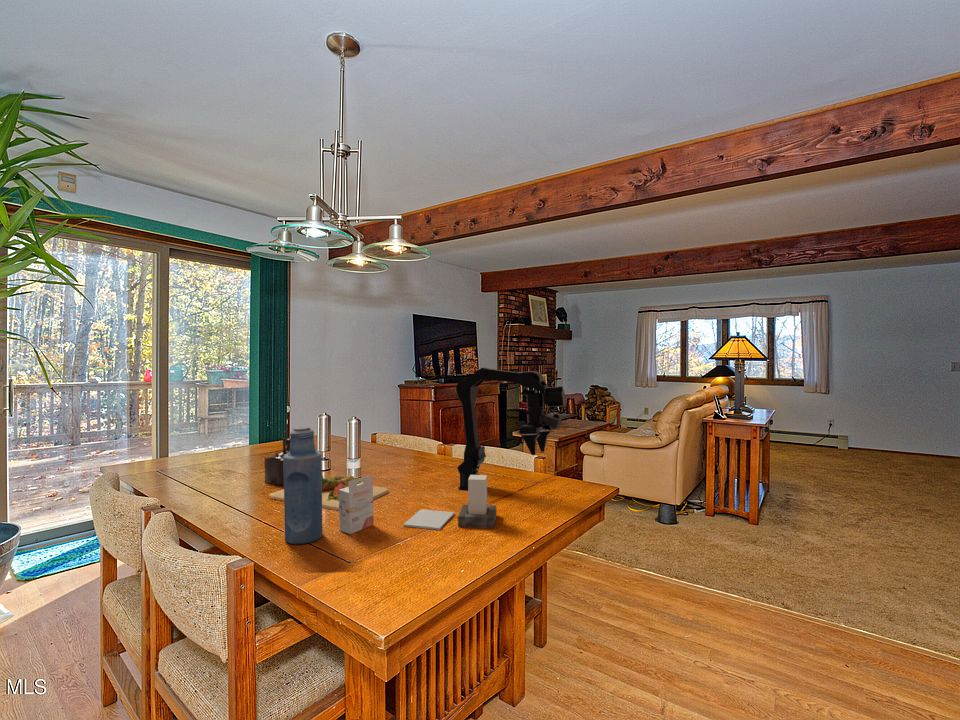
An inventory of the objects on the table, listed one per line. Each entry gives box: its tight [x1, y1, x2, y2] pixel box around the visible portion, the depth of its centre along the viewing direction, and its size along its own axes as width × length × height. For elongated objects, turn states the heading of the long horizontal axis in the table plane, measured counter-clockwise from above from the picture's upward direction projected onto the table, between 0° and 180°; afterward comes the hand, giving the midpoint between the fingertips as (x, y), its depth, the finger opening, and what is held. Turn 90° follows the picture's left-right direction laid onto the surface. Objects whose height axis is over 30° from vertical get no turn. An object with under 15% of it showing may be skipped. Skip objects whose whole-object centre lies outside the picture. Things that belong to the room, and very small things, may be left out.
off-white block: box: [467, 474, 488, 515], centre depth 137 cm, size 5×5×13 cm
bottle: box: [283, 426, 324, 546], centre depth 125 cm, size 10×10×30 cm
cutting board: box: [269, 474, 389, 512], centre depth 163 cm, size 35×23×8 cm
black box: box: [264, 437, 291, 486], centre depth 179 cm, size 16×11×18 cm
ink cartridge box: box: [338, 474, 374, 535], centre depth 132 cm, size 9×5×15 cm, turn 143°
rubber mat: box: [403, 508, 455, 531], centre depth 138 cm, size 11×13×1 cm
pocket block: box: [457, 504, 497, 529], centre depth 137 cm, size 10×10×3 cm
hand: (538, 453), depth 159 cm, fingers open, 9 cm apart
